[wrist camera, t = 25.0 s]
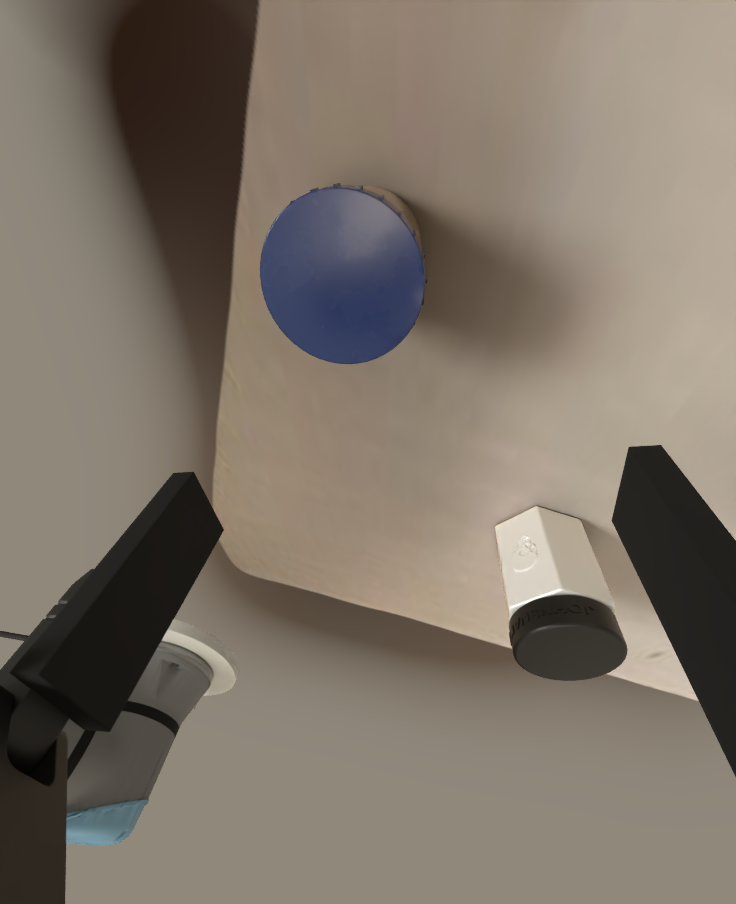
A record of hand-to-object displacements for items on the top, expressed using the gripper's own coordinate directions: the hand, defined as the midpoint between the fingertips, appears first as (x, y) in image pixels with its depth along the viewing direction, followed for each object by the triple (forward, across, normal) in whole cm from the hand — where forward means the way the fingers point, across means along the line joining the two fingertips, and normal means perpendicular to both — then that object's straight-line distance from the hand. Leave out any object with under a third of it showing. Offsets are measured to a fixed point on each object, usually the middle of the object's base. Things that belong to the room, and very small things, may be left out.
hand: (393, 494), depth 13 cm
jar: (+20, +10, -24) cm, 33 cm away
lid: (+11, -3, +4) cm, 12 cm away
